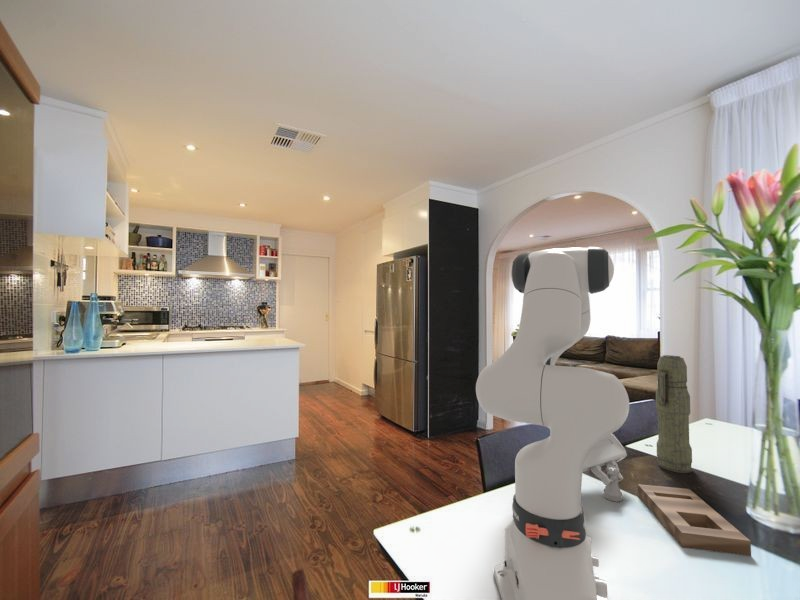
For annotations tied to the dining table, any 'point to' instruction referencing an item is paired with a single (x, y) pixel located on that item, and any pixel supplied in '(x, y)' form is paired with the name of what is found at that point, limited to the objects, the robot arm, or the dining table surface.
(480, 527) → the dining table surface
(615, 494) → the rook chess piece
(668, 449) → the thermos
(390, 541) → the dining table surface
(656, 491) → the block
